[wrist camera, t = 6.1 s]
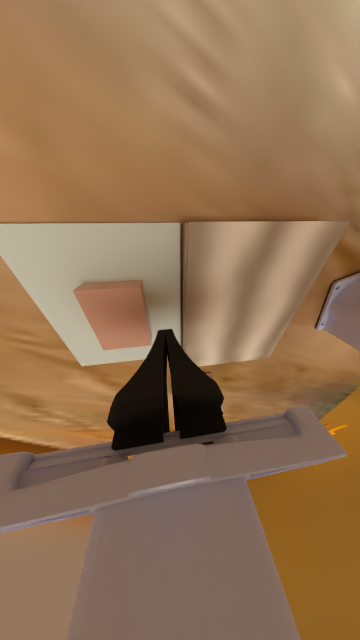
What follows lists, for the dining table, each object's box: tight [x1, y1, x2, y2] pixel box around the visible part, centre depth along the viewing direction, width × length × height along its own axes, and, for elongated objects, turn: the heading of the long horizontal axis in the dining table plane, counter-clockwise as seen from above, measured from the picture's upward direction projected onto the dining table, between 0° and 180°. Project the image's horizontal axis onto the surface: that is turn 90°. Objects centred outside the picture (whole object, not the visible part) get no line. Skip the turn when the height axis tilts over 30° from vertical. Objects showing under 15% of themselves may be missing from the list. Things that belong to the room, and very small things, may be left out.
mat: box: [0, 223, 181, 366], centre depth 16 cm, size 16×18×1 cm
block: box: [73, 280, 152, 350], centre depth 15 cm, size 6×8×2 cm
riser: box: [182, 221, 351, 367], centre depth 17 cm, size 14×18×3 cm
